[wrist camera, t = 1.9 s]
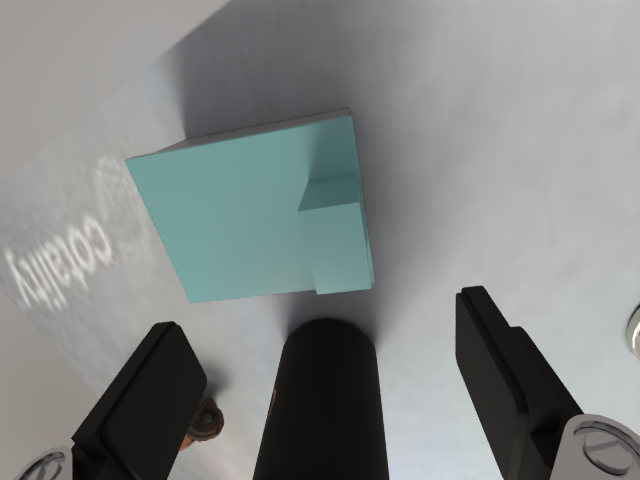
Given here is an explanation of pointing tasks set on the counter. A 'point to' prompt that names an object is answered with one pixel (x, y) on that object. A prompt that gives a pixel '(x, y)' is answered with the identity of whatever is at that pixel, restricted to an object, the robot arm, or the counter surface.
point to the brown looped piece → (204, 424)
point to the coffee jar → (325, 408)
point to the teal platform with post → (261, 212)
